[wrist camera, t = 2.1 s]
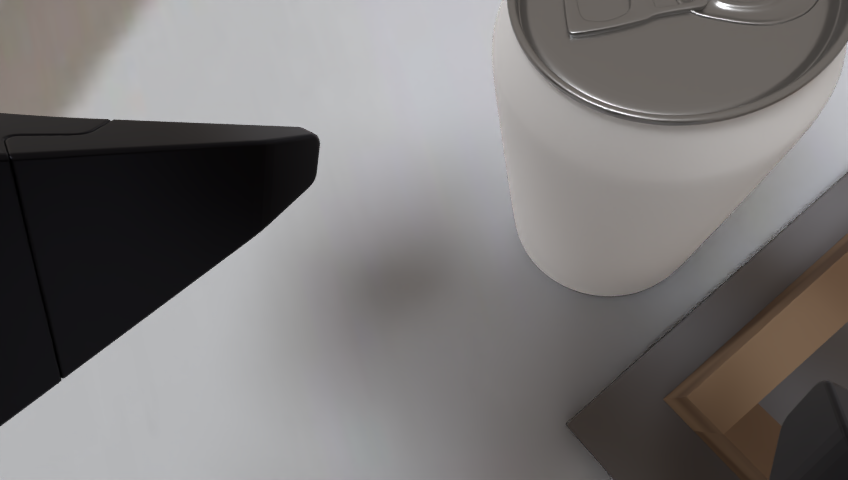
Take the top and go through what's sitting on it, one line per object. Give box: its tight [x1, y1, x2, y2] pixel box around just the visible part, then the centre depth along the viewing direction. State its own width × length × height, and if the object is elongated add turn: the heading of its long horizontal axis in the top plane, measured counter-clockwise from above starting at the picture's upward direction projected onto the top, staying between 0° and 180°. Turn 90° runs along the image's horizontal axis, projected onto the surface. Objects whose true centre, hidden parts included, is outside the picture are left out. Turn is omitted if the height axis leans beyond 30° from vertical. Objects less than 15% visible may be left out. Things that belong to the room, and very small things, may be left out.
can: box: [492, 0, 848, 296], centre depth 15 cm, size 6×6×12 cm
